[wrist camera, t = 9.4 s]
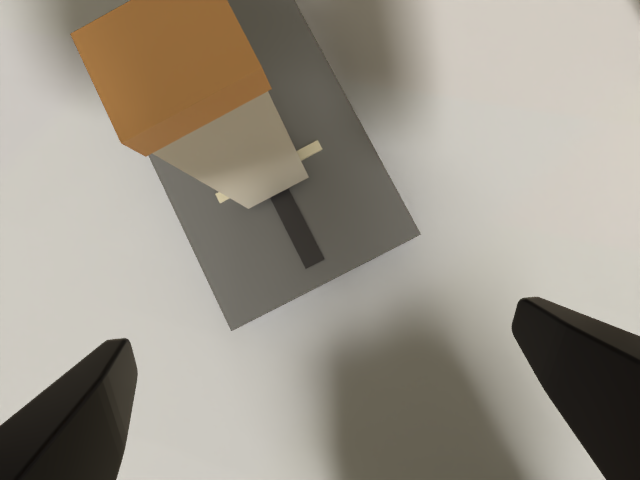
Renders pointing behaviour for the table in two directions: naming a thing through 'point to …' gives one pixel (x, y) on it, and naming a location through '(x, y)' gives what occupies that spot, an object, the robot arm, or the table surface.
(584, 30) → the table surface
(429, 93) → the table surface
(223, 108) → the fader knob
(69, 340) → the table surface
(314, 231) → the console
